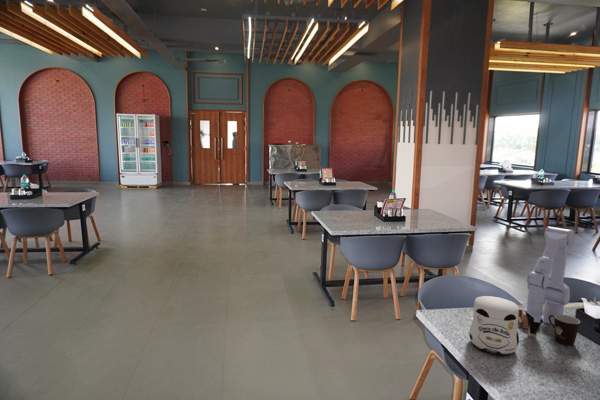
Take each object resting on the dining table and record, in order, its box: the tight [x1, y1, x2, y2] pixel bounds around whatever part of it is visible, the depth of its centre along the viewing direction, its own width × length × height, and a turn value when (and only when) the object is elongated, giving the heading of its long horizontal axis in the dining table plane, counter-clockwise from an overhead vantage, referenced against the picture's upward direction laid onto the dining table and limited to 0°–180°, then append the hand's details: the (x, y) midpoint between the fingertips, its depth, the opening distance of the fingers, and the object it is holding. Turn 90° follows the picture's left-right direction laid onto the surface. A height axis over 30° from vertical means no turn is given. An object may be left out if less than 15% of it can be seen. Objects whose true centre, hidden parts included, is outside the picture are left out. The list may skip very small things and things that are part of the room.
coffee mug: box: [549, 314, 581, 347], centre depth 157 cm, size 12×9×10 cm
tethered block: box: [521, 309, 537, 338], centre depth 166 cm, size 14×5×6 cm, turn 157°
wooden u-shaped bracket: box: [517, 308, 541, 332], centre depth 172 cm, size 9×8×5 cm
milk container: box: [468, 295, 520, 356], centre depth 150 cm, size 17×17×18 cm
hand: (532, 331), depth 161 cm, fingers closed on tethered block, 3 cm apart
